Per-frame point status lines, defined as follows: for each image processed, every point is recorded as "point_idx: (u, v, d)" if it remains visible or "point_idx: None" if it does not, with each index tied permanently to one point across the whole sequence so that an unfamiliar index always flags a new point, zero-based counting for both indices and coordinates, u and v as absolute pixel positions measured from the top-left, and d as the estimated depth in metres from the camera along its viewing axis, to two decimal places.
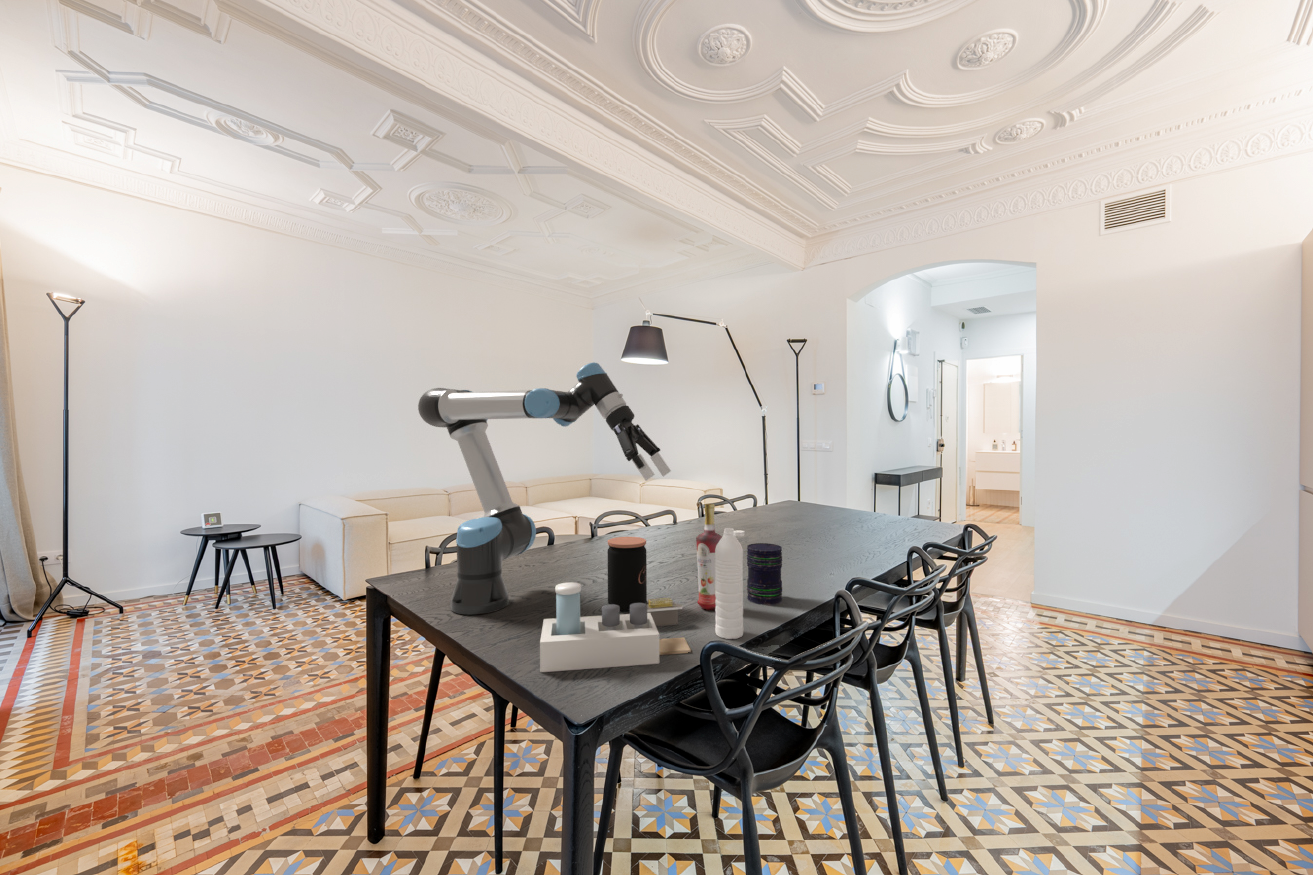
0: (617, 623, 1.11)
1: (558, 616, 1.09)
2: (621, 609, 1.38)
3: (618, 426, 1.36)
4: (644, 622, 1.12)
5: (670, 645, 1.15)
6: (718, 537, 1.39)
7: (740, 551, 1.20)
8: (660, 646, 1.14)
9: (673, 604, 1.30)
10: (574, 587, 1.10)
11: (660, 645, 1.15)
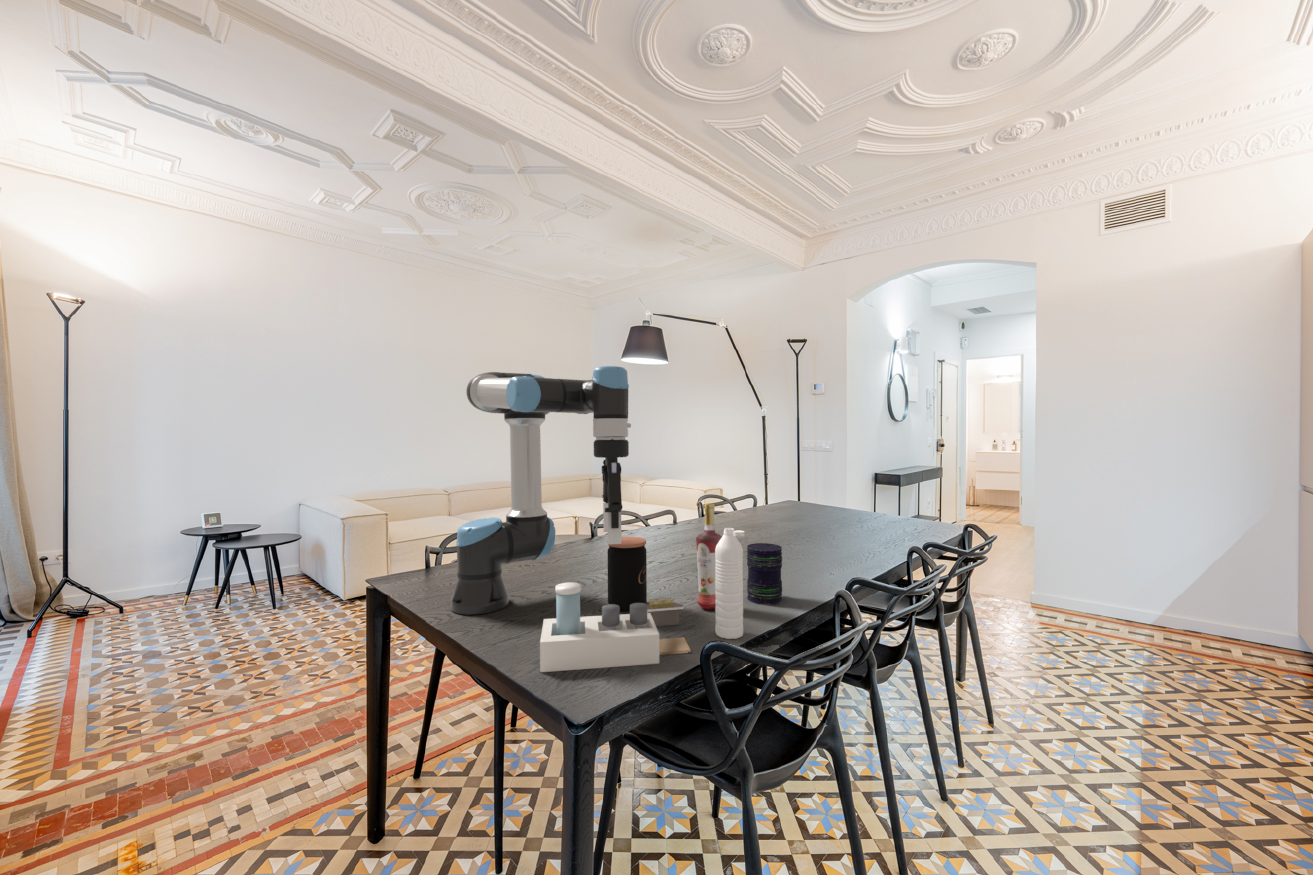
0: (617, 623, 1.11)
1: (558, 616, 1.09)
2: (621, 609, 1.38)
3: (616, 465, 1.06)
4: (644, 622, 1.12)
5: (670, 645, 1.15)
6: (718, 537, 1.39)
7: (740, 551, 1.20)
8: (660, 646, 1.14)
9: (674, 604, 1.30)
10: (574, 587, 1.10)
11: (660, 645, 1.15)
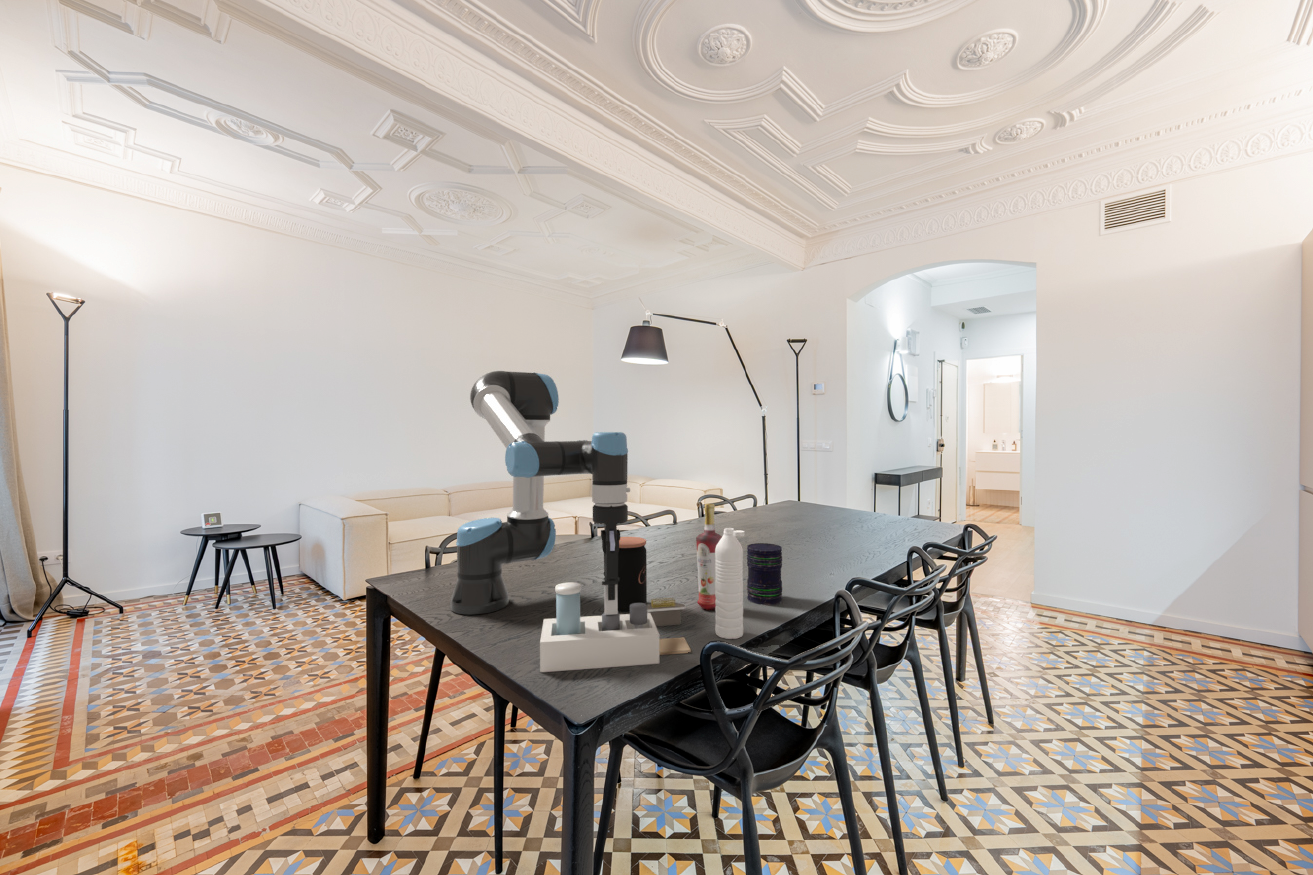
0: None
1: (558, 616, 1.09)
2: (621, 609, 1.38)
3: (615, 546, 1.06)
4: (644, 622, 1.12)
5: (670, 645, 1.15)
6: (718, 537, 1.39)
7: (740, 551, 1.20)
8: (660, 646, 1.14)
9: (676, 604, 1.30)
10: (574, 587, 1.10)
11: (660, 645, 1.15)
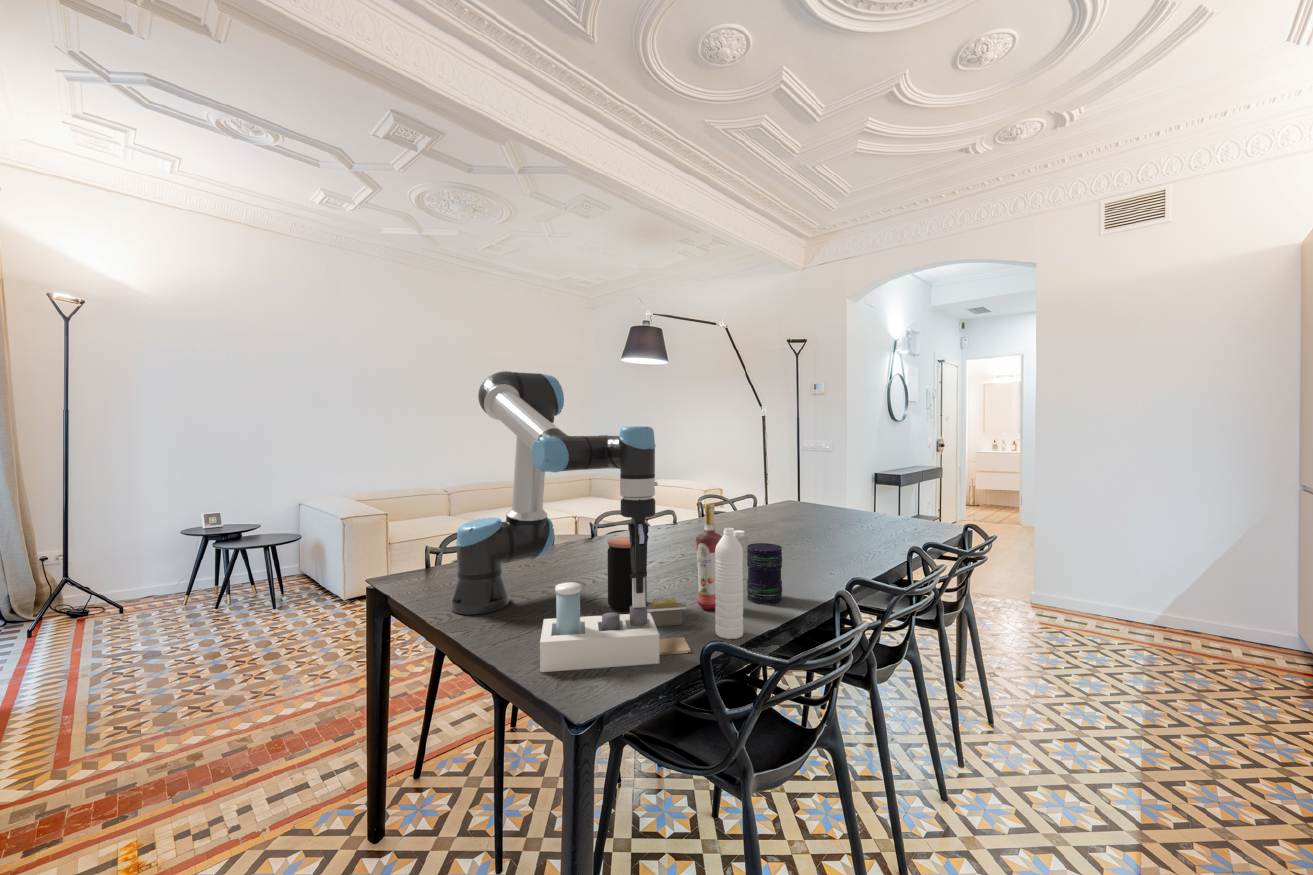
0: None
1: (558, 616, 1.09)
2: (621, 609, 1.38)
3: (644, 539, 1.07)
4: (644, 624, 1.12)
5: (670, 645, 1.15)
6: (718, 537, 1.39)
7: (740, 551, 1.20)
8: (660, 646, 1.14)
9: (677, 604, 1.30)
10: (574, 587, 1.10)
11: (660, 645, 1.15)
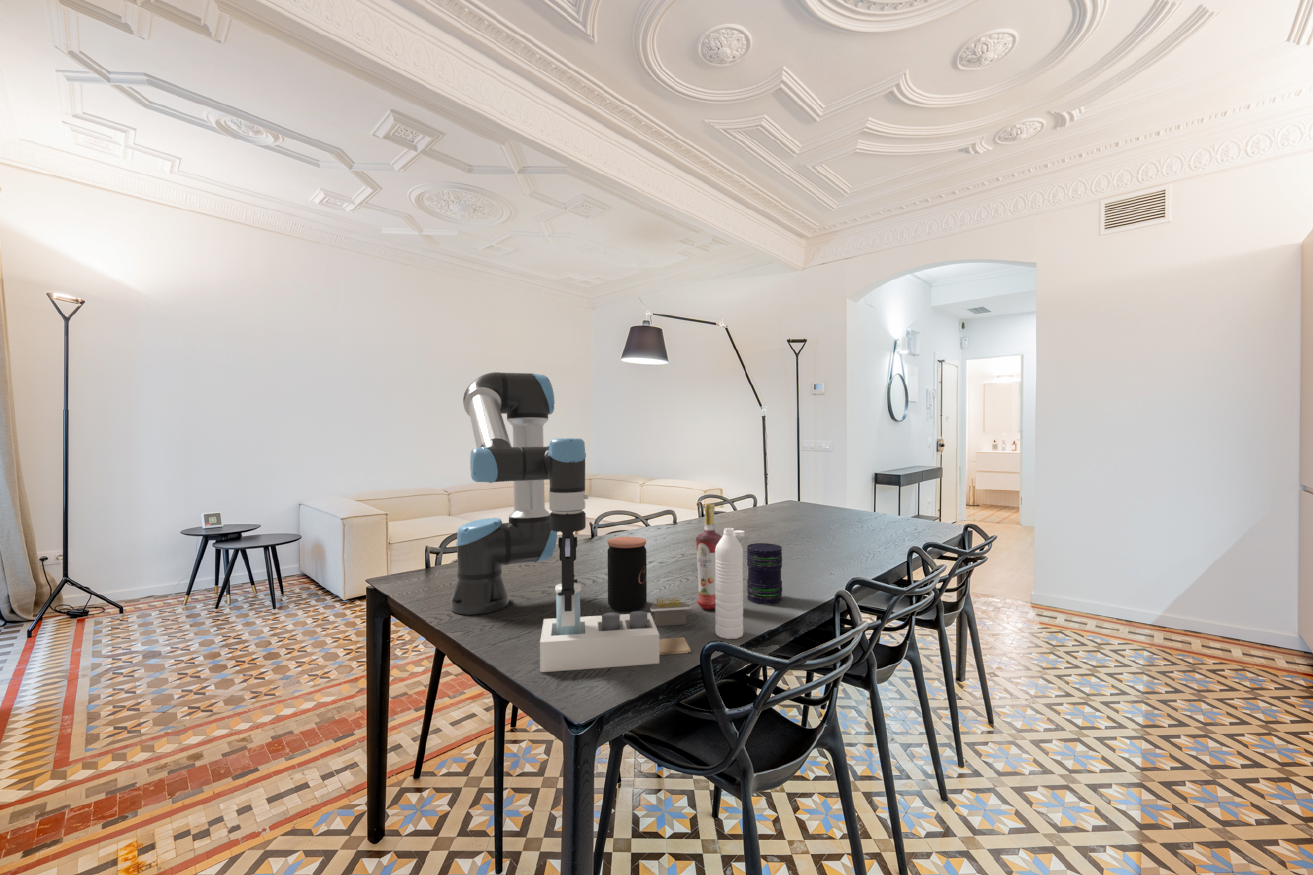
0: None
1: (558, 616, 1.09)
2: (621, 609, 1.38)
3: (570, 550, 1.04)
4: None
5: (670, 645, 1.15)
6: (718, 537, 1.39)
7: (740, 551, 1.20)
8: (660, 646, 1.14)
9: (681, 604, 1.30)
10: (574, 587, 1.10)
11: (660, 645, 1.15)
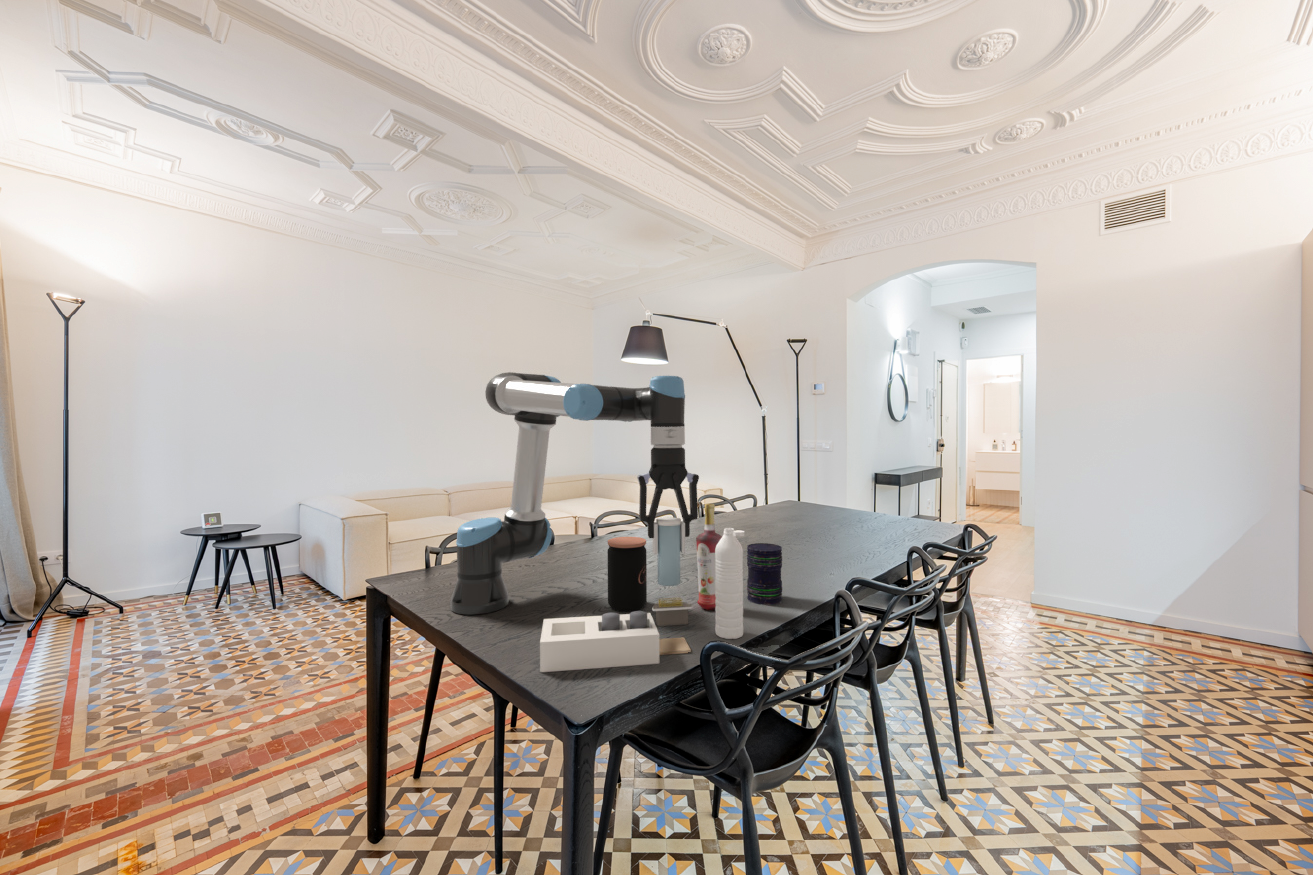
0: None
1: None
2: (621, 609, 1.38)
3: (638, 479, 1.13)
4: None
5: (670, 645, 1.15)
6: (718, 537, 1.39)
7: (740, 551, 1.20)
8: (660, 646, 1.14)
9: (683, 604, 1.30)
10: (664, 520, 1.13)
11: (660, 645, 1.15)
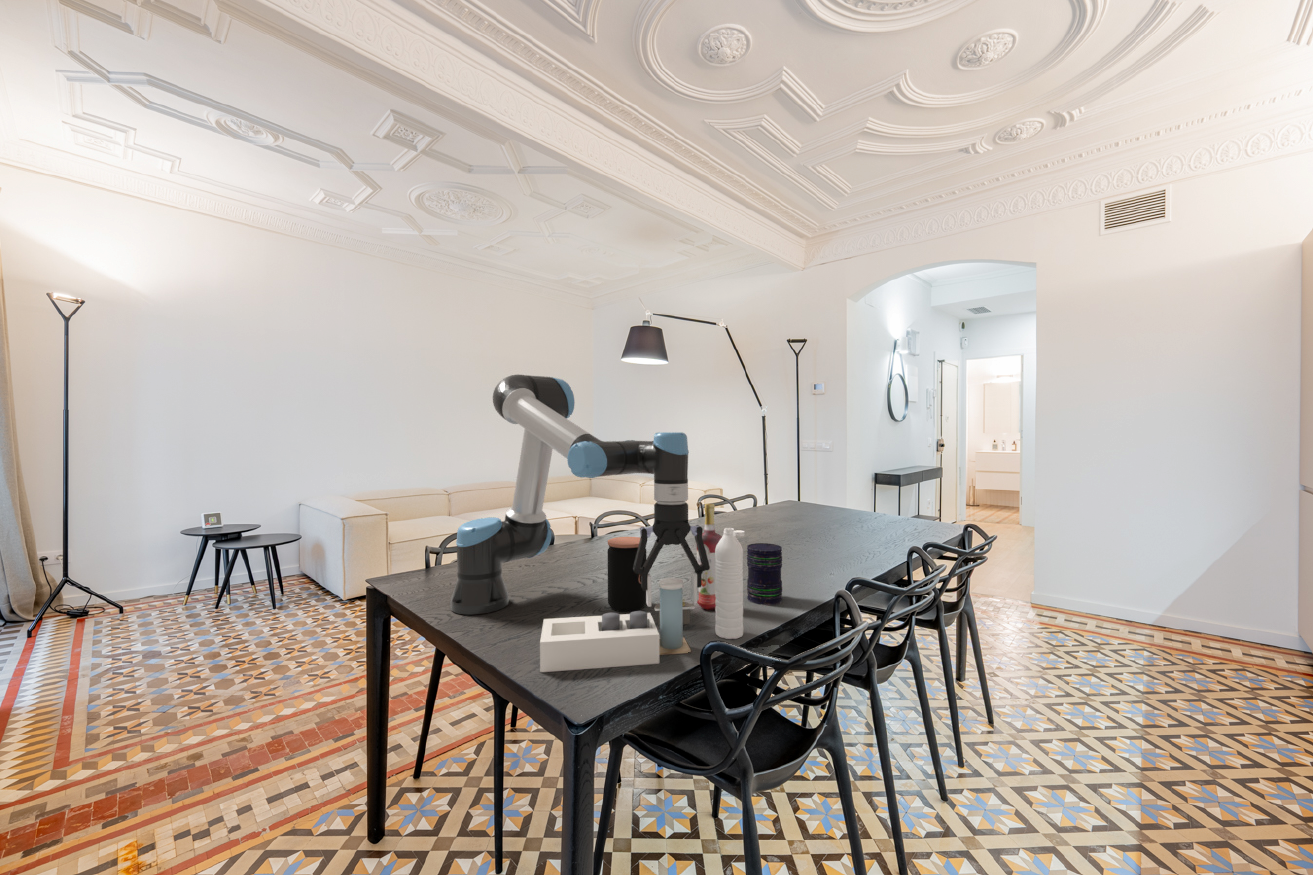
0: None
1: None
2: (621, 609, 1.38)
3: (641, 531, 1.13)
4: None
5: None
6: (718, 537, 1.39)
7: (740, 551, 1.20)
8: (660, 646, 1.14)
9: (685, 604, 1.30)
10: (666, 583, 1.14)
11: None
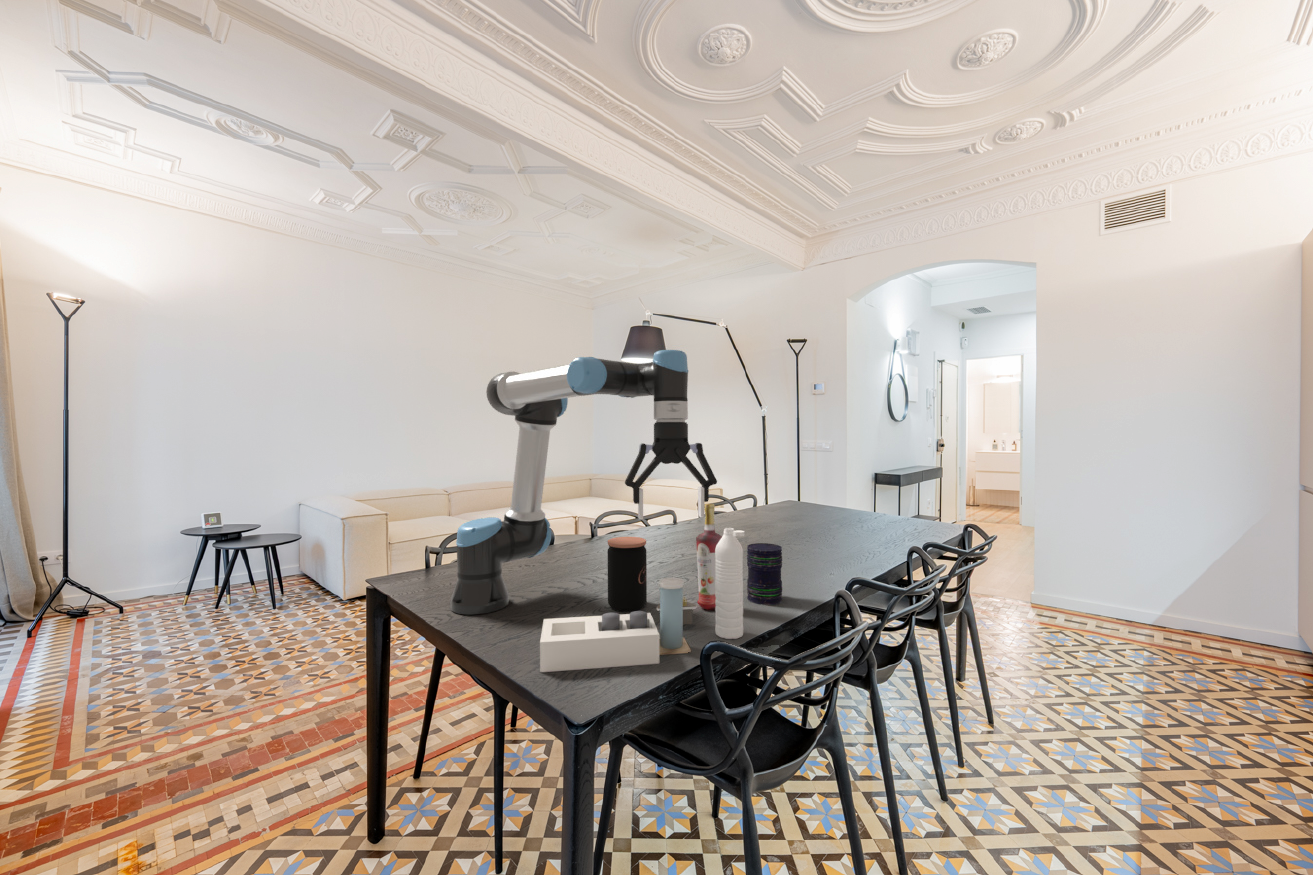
0: None
1: None
2: (621, 609, 1.38)
3: (640, 446, 1.13)
4: None
5: None
6: (718, 537, 1.39)
7: (740, 551, 1.20)
8: (660, 646, 1.14)
9: (688, 604, 1.30)
10: (667, 583, 1.14)
11: None
